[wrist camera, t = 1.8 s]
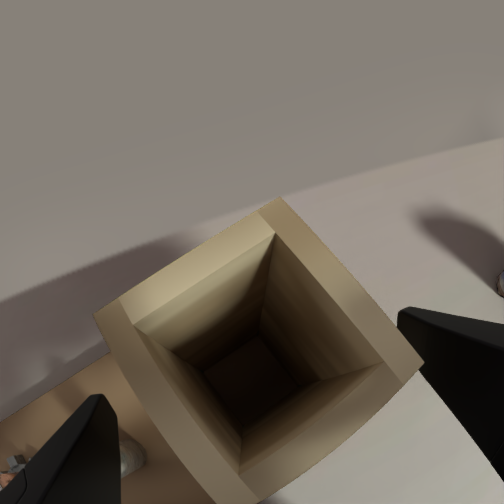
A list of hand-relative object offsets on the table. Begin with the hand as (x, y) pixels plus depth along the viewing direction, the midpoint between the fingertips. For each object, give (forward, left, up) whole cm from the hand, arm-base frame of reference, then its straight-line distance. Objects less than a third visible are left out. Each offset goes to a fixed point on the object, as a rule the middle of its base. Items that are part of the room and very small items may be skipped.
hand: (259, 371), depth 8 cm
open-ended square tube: (0, 0, -8) cm, 8 cm away
